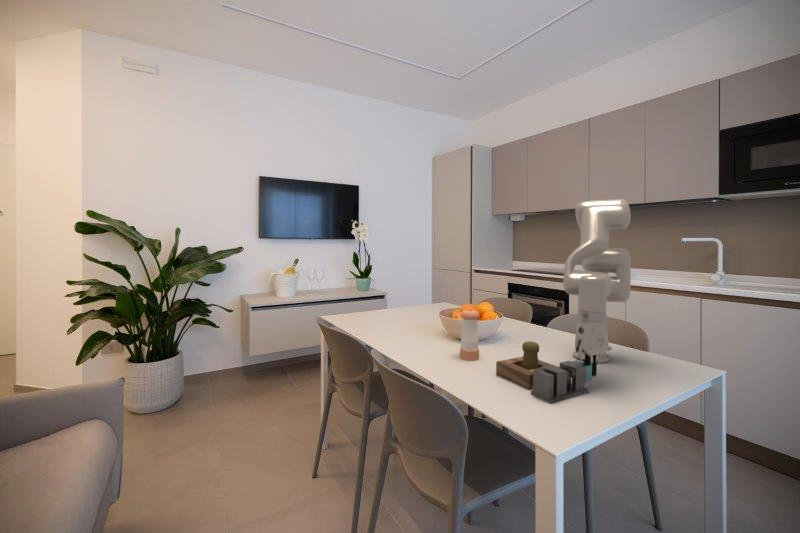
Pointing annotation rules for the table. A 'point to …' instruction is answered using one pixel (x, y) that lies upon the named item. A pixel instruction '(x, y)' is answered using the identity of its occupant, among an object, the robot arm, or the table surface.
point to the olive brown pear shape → (530, 355)
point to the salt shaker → (469, 335)
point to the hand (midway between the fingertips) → (589, 374)
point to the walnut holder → (517, 371)
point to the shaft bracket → (559, 382)
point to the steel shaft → (587, 371)
